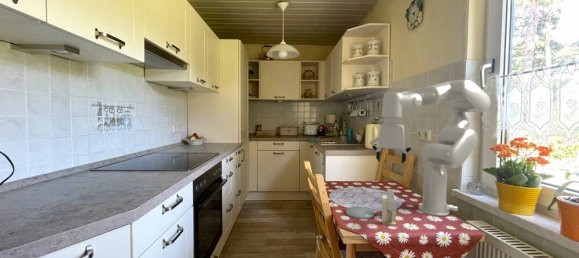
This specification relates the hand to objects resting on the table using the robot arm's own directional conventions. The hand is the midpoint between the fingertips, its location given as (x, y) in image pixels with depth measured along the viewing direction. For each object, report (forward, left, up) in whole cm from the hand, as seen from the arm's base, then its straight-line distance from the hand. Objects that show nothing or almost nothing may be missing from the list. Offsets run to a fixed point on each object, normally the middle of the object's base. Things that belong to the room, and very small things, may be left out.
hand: (390, 161), depth 112 cm
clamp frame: (0, 0, -24) cm, 24 cm away
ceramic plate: (+12, 0, -24) cm, 27 cm away
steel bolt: (0, +15, -13) cm, 20 cm away
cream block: (0, 0, -24) cm, 24 cm away
